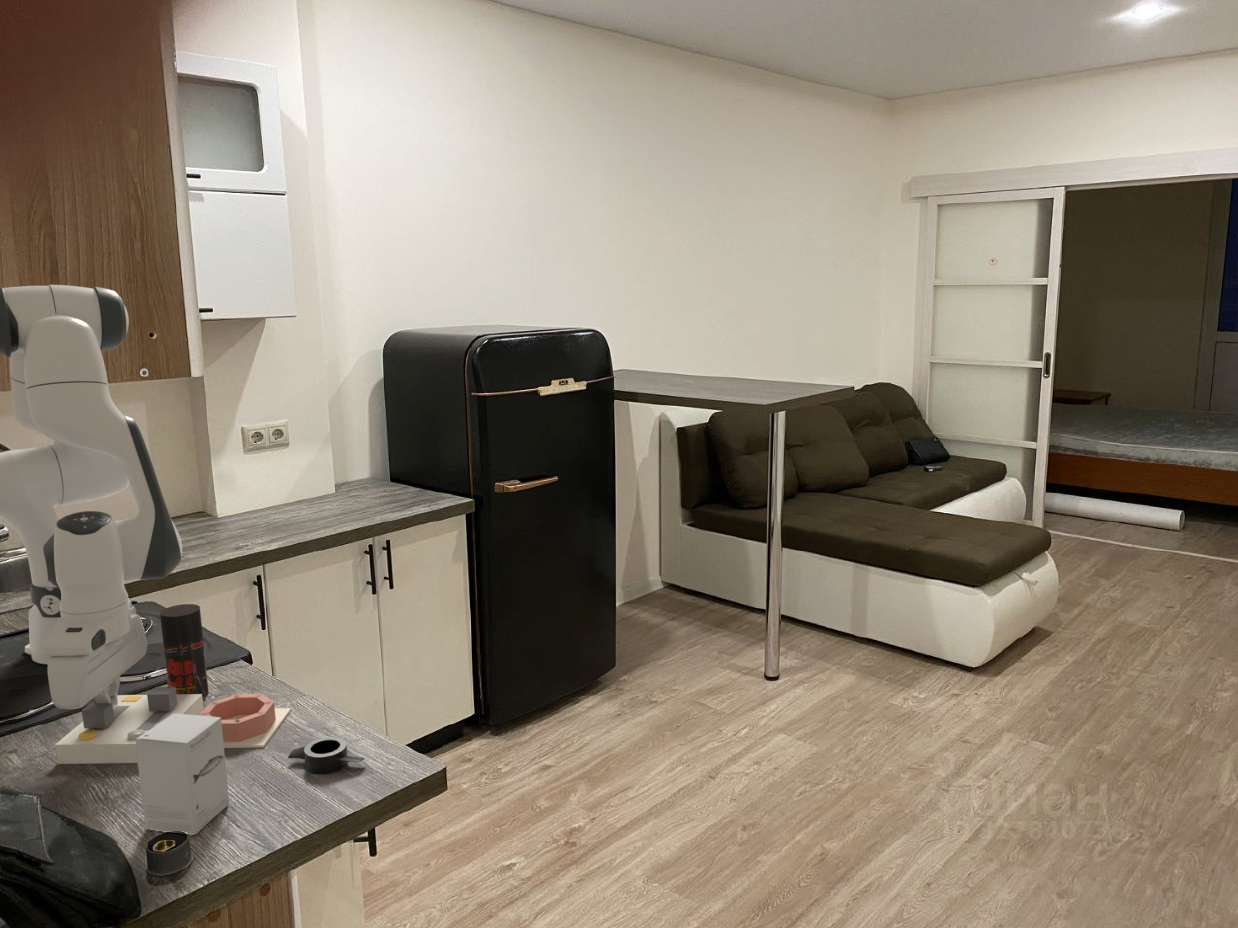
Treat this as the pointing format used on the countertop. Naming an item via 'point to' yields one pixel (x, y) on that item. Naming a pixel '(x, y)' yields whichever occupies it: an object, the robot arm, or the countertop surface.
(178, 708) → the breaker panel
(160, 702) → the untagged switch
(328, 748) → the black finned ring
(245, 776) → the countertop surface
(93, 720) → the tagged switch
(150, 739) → the supplement box
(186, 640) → the deodorant
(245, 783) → the countertop surface
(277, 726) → the ring
